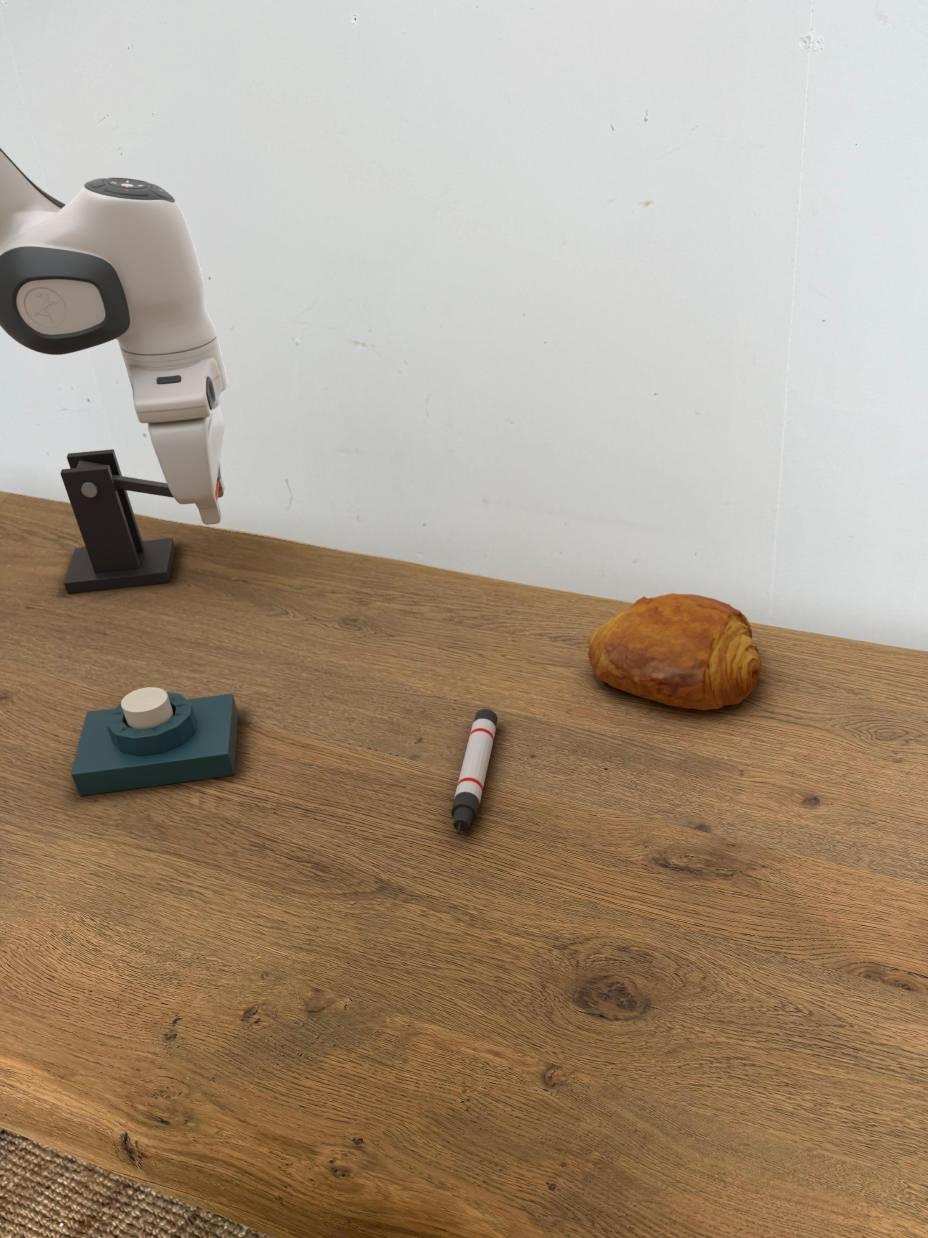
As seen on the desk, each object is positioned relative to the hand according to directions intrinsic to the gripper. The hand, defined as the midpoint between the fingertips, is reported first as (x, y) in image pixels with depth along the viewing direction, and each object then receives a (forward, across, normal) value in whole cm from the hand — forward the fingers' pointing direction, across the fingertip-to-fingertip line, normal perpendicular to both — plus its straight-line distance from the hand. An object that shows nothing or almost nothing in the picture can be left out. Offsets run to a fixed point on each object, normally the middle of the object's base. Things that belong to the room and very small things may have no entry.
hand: (214, 508), depth 121 cm
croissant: (+6, +33, +41) cm, 53 cm away
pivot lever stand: (+6, 0, -11) cm, 12 cm away
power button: (+2, +35, -4) cm, 35 cm away
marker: (+6, +45, +21) cm, 50 cm away
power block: (+6, +35, -4) cm, 36 cm away
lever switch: (-2, 0, -6) cm, 6 cm away
